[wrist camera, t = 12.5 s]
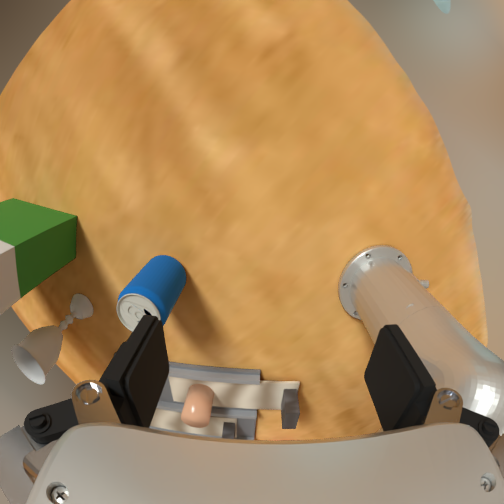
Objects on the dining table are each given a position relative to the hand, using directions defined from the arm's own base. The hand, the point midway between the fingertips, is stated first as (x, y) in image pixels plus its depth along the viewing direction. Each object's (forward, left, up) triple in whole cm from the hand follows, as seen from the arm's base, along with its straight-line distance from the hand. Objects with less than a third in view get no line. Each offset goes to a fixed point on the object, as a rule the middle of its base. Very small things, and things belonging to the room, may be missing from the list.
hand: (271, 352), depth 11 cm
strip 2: (+4, +34, -27) cm, 44 cm away
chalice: (+32, +18, -28) cm, 46 cm away
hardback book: (+39, +3, -28) cm, 48 cm away
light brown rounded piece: (+10, +34, -27) cm, 44 cm away
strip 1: (+15, +46, -28) cm, 56 cm away
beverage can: (+14, +10, -28) cm, 33 cm away
